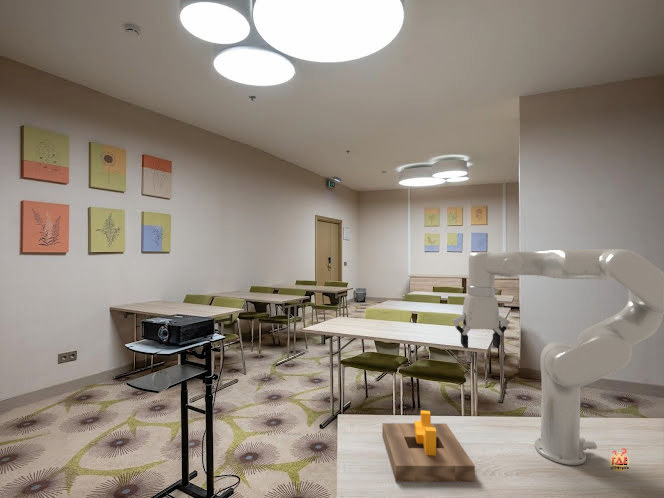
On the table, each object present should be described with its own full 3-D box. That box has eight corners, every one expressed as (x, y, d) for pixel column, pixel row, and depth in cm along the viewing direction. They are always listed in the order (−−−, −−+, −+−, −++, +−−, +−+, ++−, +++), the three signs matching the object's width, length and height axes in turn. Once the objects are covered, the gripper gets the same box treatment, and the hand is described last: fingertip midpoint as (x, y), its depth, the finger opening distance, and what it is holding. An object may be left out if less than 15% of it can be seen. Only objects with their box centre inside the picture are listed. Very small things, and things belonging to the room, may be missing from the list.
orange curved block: (414, 431, 109) (414, 410, 109) (429, 432, 108) (429, 410, 108) (419, 454, 97) (419, 430, 97) (435, 455, 96) (436, 431, 96)
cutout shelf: (446, 436, 114) (446, 423, 114) (474, 481, 92) (474, 465, 92) (382, 436, 114) (382, 423, 114) (395, 481, 92) (395, 465, 92)
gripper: (503, 290, 117) (502, 344, 117) (449, 290, 117) (448, 343, 117) (515, 293, 109) (514, 350, 109) (457, 293, 109) (457, 350, 109)
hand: (480, 347), depth 113 cm, fingers open, 9 cm apart
